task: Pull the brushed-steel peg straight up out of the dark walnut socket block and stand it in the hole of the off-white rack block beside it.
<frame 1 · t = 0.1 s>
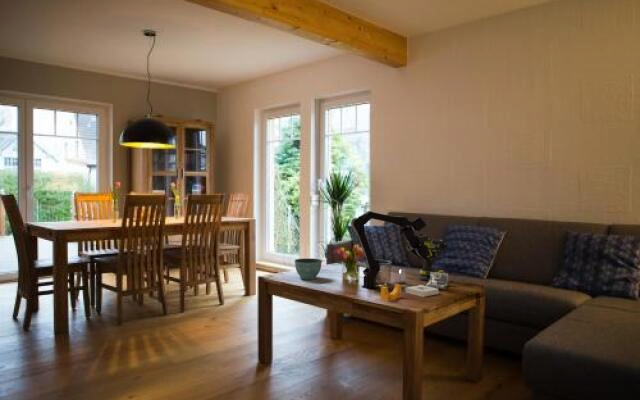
hand: (424, 260, 263), 15 cm above the table, tool tilted 30°, fingers open, 9 cm apart
flower pot: (308, 278, 281), on the table
rack block: (421, 293, 248), on the table
phone holder: (436, 288, 263), on the table
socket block: (402, 288, 259), on the table
steel peg: (402, 279, 259), in the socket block
pipe clamp: (392, 299, 234), on the table
power drill: (433, 280, 281), on the table
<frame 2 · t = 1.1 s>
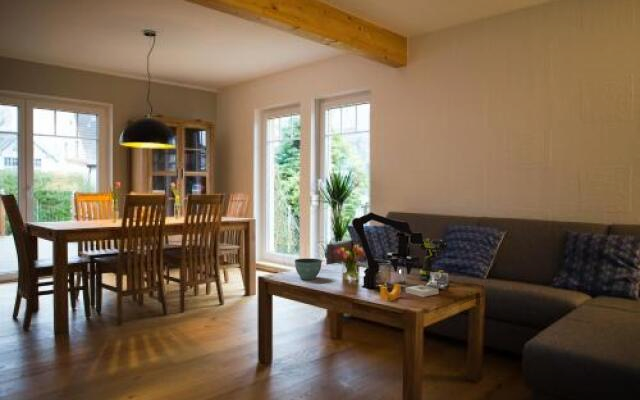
hand: (402, 272, 259), 8 cm above the table, tool pointing down, fingers open, 9 cm apart
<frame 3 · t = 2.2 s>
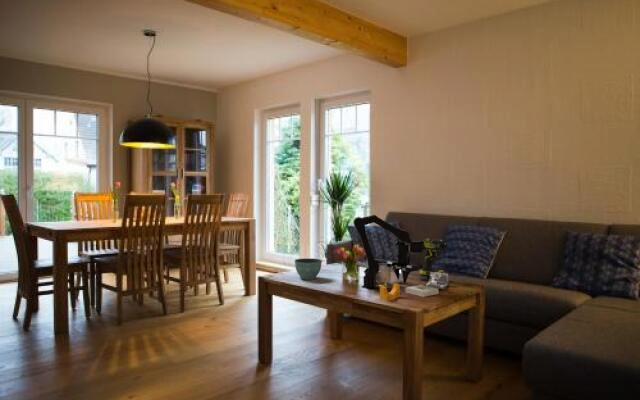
hand: (402, 281, 259), 4 cm above the table, tool pointing down, fingers closed on steel peg, 4 cm apart
steel peg: (402, 279, 259), in the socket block, touching gripper
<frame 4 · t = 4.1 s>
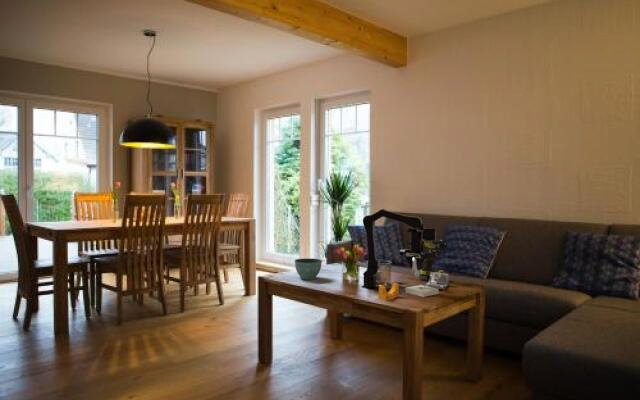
hand: (415, 269, 251), 11 cm above the table, tool pointing down, fingers closed on steel peg, 4 cm apart
steel peg: (415, 266, 251), point 13 cm above the table, touching gripper
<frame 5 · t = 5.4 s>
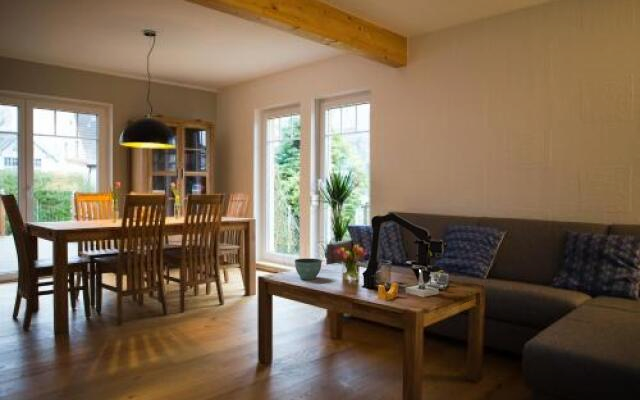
hand: (422, 282, 248), 6 cm above the table, tool pointing down, fingers closed on steel peg, 4 cm apart
steel peg: (422, 279, 248), point 7 cm above the table, touching gripper
when the fingers open (4 cm above the table, at t = 6.3 s): steel peg stays where it is, resting in rack block.
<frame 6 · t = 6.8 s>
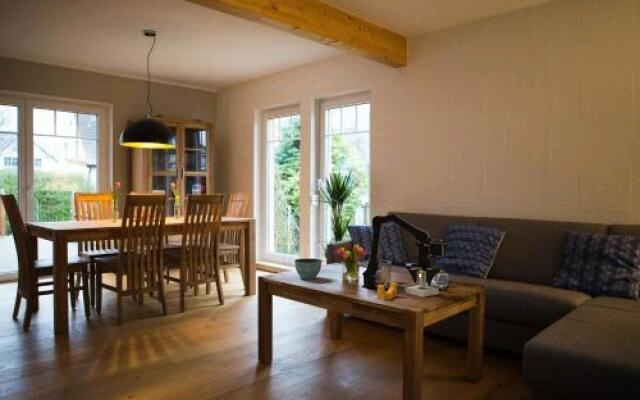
hand: (422, 284, 248), 4 cm above the table, tool pointing down, fingers open, 9 cm apart
steel peg: (422, 283, 248), in the rack block
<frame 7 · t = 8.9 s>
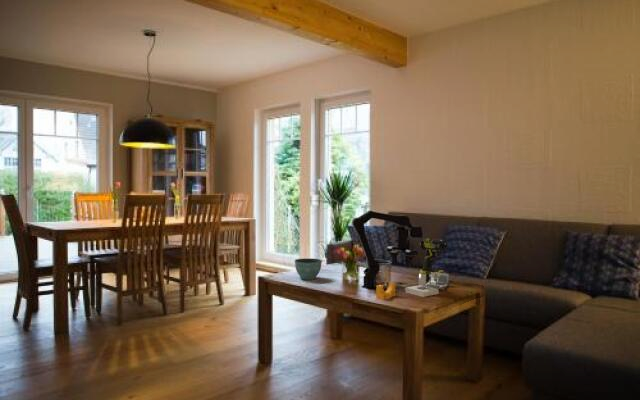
hand: (401, 266, 260), 12 cm above the table, tool pointing down, fingers open, 9 cm apart
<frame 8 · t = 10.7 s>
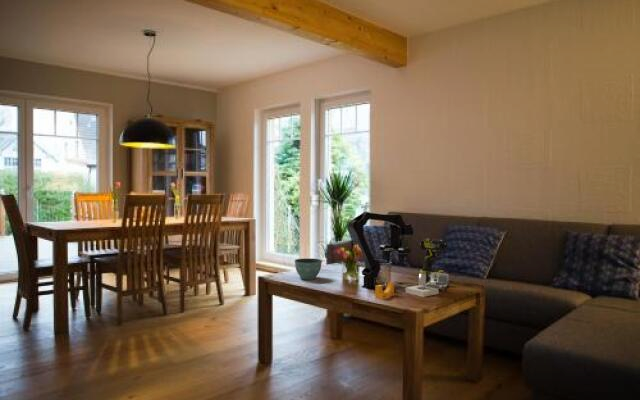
hand: (394, 264, 265), 12 cm above the table, tool pointing down, fingers open, 9 cm apart
at the end: steel peg 0.1 cm off-centre on the rack block, point 5.0 cm above the rack block's base; steel peg tilted 0°; the gripper is holding nothing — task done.
